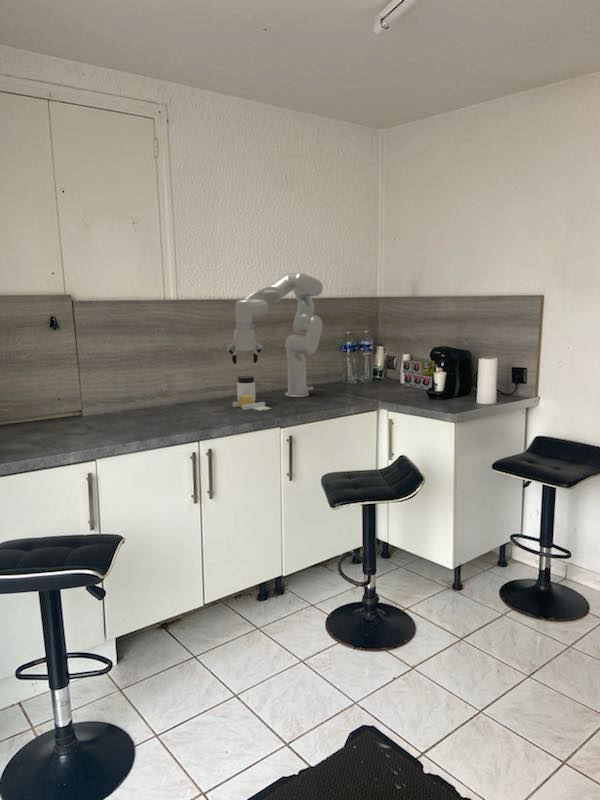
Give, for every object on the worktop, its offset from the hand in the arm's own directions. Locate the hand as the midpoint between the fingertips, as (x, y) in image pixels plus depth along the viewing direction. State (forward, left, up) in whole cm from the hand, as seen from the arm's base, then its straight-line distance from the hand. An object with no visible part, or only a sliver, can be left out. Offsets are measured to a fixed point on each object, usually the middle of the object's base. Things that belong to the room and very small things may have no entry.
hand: (245, 363), depth 271 cm
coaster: (-1, +11, -21) cm, 23 cm away
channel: (0, +3, -21) cm, 21 cm away
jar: (-7, -11, -21) cm, 25 cm away
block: (+2, +3, -21) cm, 21 cm away
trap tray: (-10, +3, -21) cm, 23 cm away
